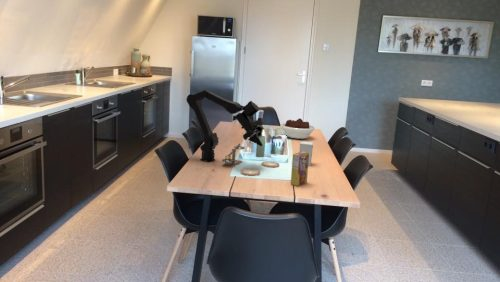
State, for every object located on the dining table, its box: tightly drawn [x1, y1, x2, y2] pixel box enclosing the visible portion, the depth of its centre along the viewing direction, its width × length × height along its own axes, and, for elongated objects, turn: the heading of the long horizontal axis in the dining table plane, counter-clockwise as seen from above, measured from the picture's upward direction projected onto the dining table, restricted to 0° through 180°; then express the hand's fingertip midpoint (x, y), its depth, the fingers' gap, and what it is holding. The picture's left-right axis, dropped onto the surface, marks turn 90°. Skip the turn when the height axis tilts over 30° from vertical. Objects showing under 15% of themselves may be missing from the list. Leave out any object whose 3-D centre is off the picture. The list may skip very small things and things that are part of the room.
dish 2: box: [261, 160, 280, 168], centre depth 235 cm, size 10×10×1 cm
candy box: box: [290, 152, 309, 187], centre depth 203 cm, size 9×4×15 cm, turn 140°
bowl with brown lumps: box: [281, 118, 315, 140], centre depth 319 cm, size 25×25×15 cm
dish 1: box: [240, 168, 261, 177], centre depth 216 cm, size 10×10×1 cm
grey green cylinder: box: [255, 135, 267, 158], centre depth 223 cm, size 4×4×11 cm
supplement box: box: [298, 140, 314, 167], centre depth 242 cm, size 7×7×13 cm
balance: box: [221, 143, 246, 167], centre depth 232 cm, size 6×19×10 cm, turn 154°
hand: (263, 144), depth 223 cm, fingers closed on grey green cylinder, 4 cm apart
